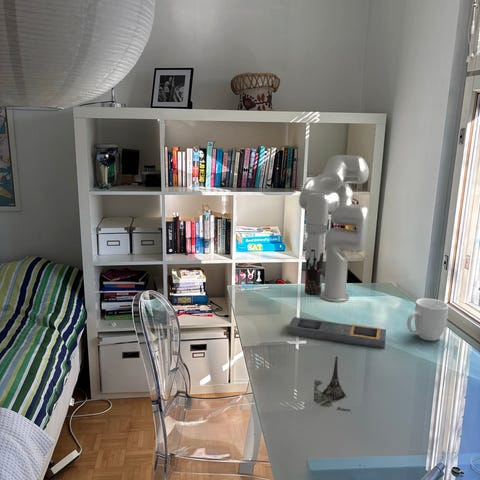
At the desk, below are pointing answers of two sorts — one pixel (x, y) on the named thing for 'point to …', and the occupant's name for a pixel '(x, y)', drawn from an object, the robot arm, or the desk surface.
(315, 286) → the deodorant
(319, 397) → the eiffel tower figurine
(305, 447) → the desk surface
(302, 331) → the holder
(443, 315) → the mug
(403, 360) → the desk surface
